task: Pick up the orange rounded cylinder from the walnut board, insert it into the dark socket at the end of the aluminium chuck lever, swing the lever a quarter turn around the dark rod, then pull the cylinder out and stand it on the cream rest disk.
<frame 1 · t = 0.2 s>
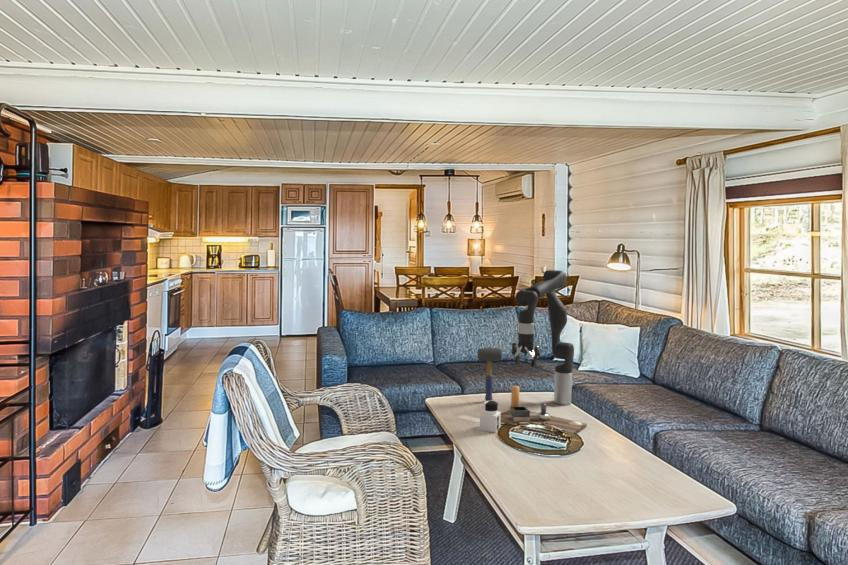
hand: (525, 365, 257), 28 cm above the table, fingers open, 8 cm apart
rubber mallet: (488, 402, 293), on the table
container: (490, 429, 250), on the table
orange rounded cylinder: (514, 412, 271), point 1 cm above the table, touching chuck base
chuck lever: (530, 411, 259), point 5 cm above the table, hinge at 0.0°
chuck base: (537, 424, 257), on the table
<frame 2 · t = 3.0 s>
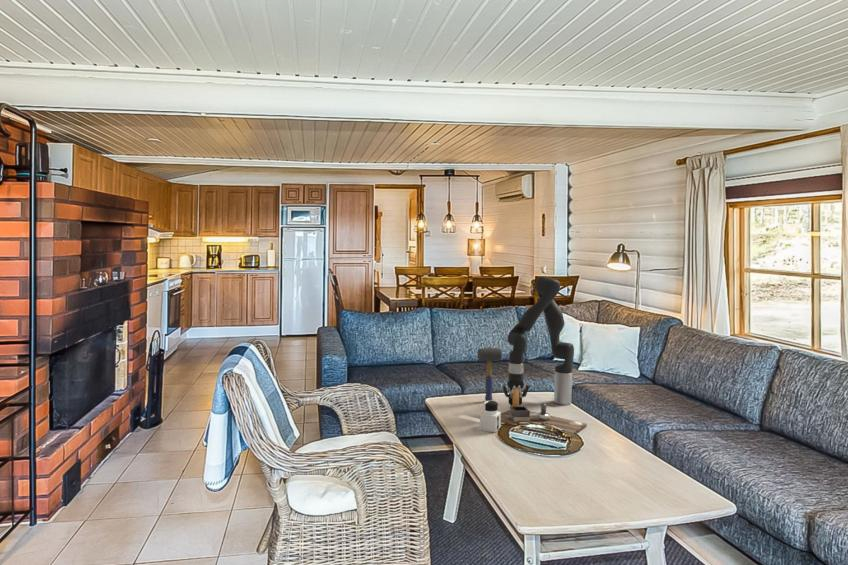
hand: (515, 404, 271), 5 cm above the table, fingers closed on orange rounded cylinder, 4 cm apart
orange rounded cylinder: (514, 412, 271), point 1 cm above the table, touching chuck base, gripper
everything else where it was.
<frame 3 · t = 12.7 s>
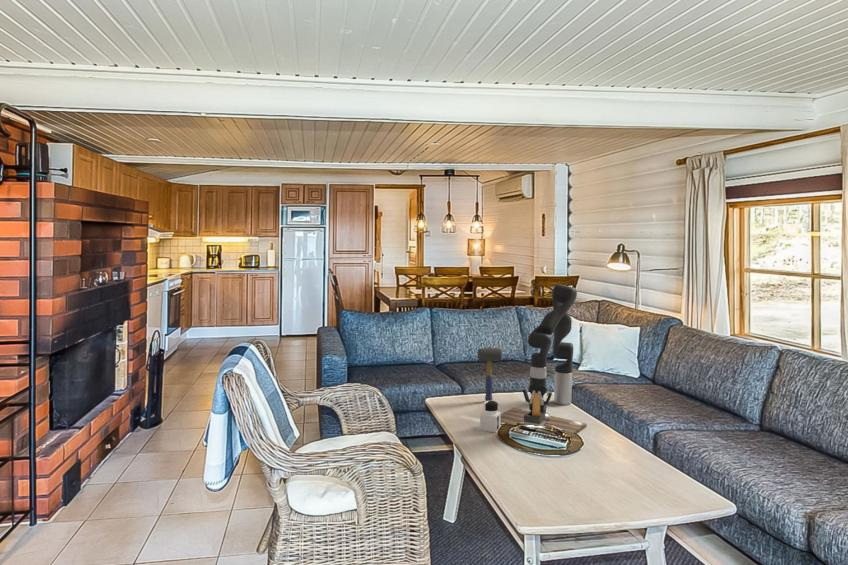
hand: (536, 411, 250), 8 cm above the table, fingers closed on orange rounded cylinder, 4 cm apart
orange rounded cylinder: (536, 419, 250), point 5 cm above the table, touching chuck lever, gripper
chuck lever: (538, 414, 255), point 5 cm above the table, hinge at 50.2°, touching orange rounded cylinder
everything else where it was.
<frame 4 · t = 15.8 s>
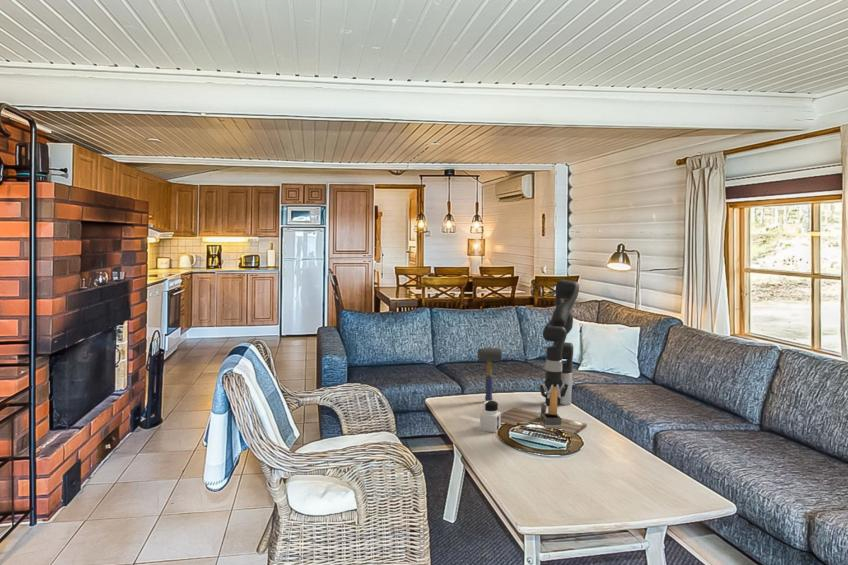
hand: (552, 405, 248), 12 cm above the table, fingers closed on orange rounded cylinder, 4 cm apart
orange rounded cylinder: (552, 413, 248), point 8 cm above the table, touching gripper
chuck lever: (547, 415, 254), point 5 cm above the table, hinge at 86.0°
everything else where it was.
when the fingers open (6 cm above the table, at t = 21.5 s): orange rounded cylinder stays where it is, resting on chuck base.
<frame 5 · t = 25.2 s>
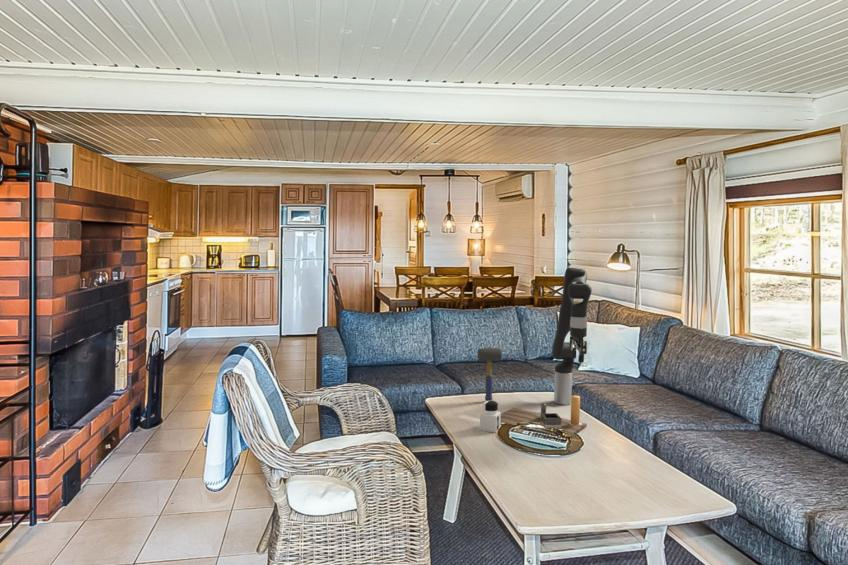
hand: (577, 360, 252), 32 cm above the table, fingers open, 8 cm apart
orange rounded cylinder: (574, 423, 254), point 2 cm above the table, touching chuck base
everything else where it was.
at the end: chuck lever at +86° (first picture: +0°); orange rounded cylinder 0.2 cm from the target spot, point 1.7 cm above the table; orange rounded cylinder tilted 0° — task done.
